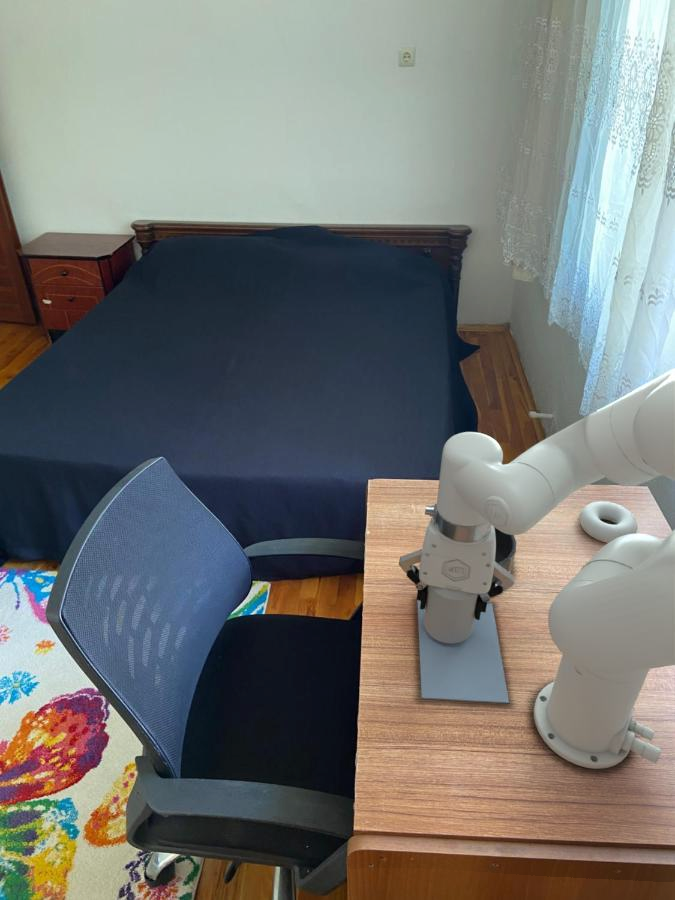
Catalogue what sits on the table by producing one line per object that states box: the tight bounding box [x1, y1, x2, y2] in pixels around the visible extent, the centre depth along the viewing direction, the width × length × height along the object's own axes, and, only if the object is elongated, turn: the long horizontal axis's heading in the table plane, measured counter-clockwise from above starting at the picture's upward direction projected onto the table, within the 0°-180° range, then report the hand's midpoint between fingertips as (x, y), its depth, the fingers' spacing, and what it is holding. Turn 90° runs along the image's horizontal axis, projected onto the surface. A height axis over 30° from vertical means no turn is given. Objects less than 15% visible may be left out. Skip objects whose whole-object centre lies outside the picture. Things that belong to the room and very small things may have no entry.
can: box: [424, 585, 479, 644], centre depth 96 cm, size 8×8×12 cm
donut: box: [579, 500, 638, 544], centre depth 118 cm, size 10×4×10 cm
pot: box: [492, 527, 517, 582], centre depth 109 cm, size 14×14×6 cm
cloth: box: [416, 599, 510, 705], centre depth 96 cm, size 18×12×1 cm, turn 176°
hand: (450, 607), depth 97 cm, fingers closed on can, 7 cm apart
